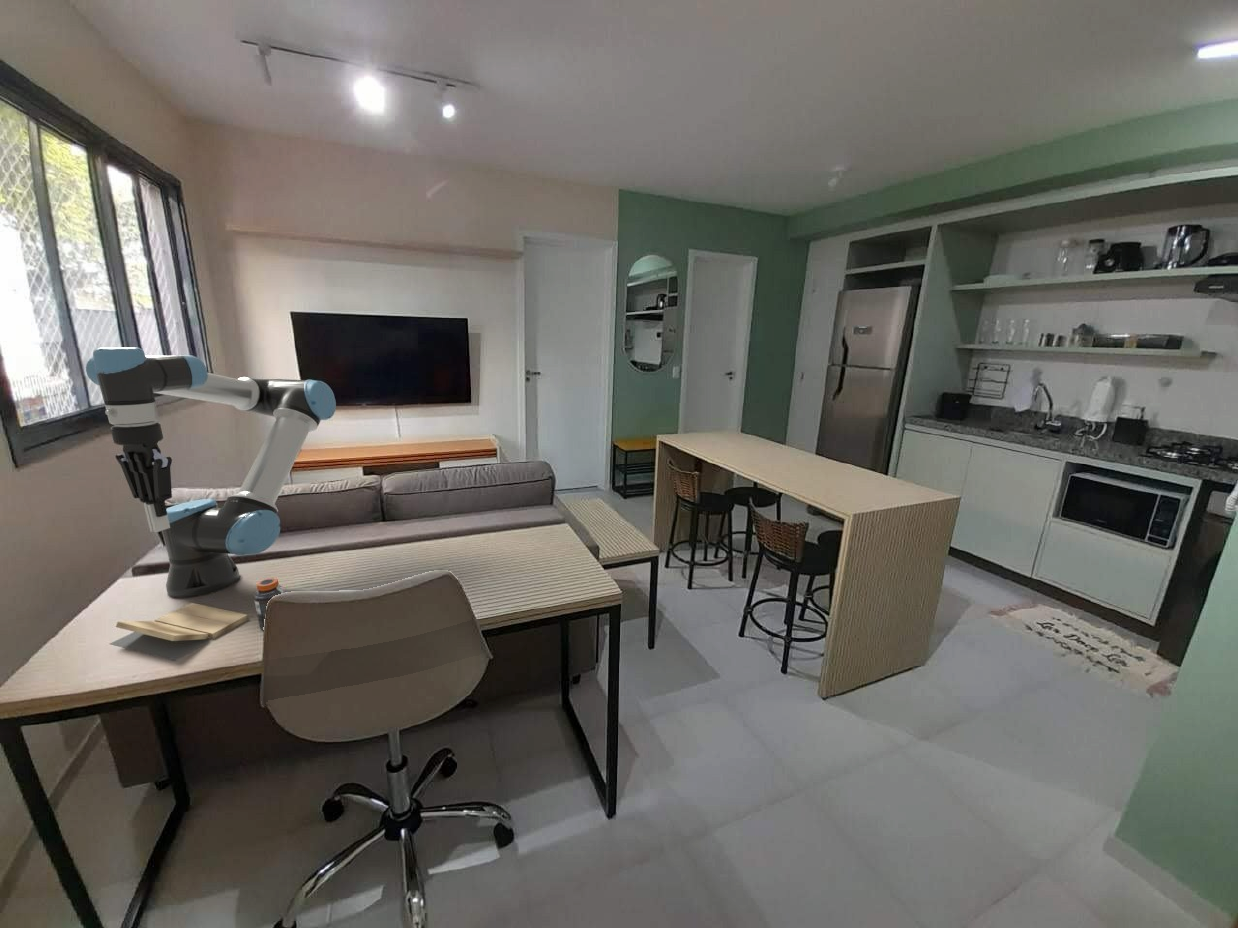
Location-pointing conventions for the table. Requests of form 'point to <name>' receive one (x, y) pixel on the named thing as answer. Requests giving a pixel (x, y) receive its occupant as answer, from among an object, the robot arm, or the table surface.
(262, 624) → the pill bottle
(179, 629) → the board
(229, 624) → the floor board
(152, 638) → the underlay mat
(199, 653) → the table surface
